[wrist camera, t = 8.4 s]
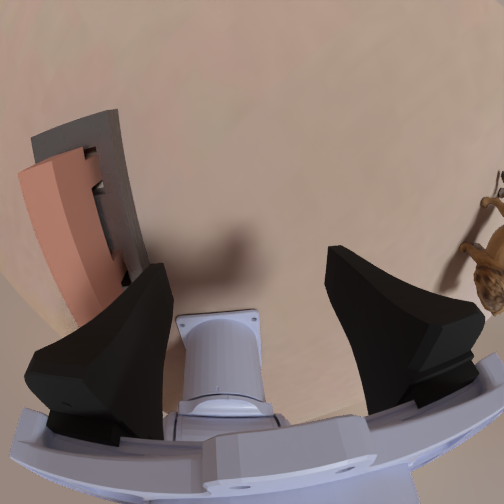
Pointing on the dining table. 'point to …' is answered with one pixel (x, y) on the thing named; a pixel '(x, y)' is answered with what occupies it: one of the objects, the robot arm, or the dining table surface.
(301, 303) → the dining table surface
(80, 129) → the slotted metal plate
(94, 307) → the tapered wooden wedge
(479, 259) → the lion figurine
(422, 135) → the dining table surface
